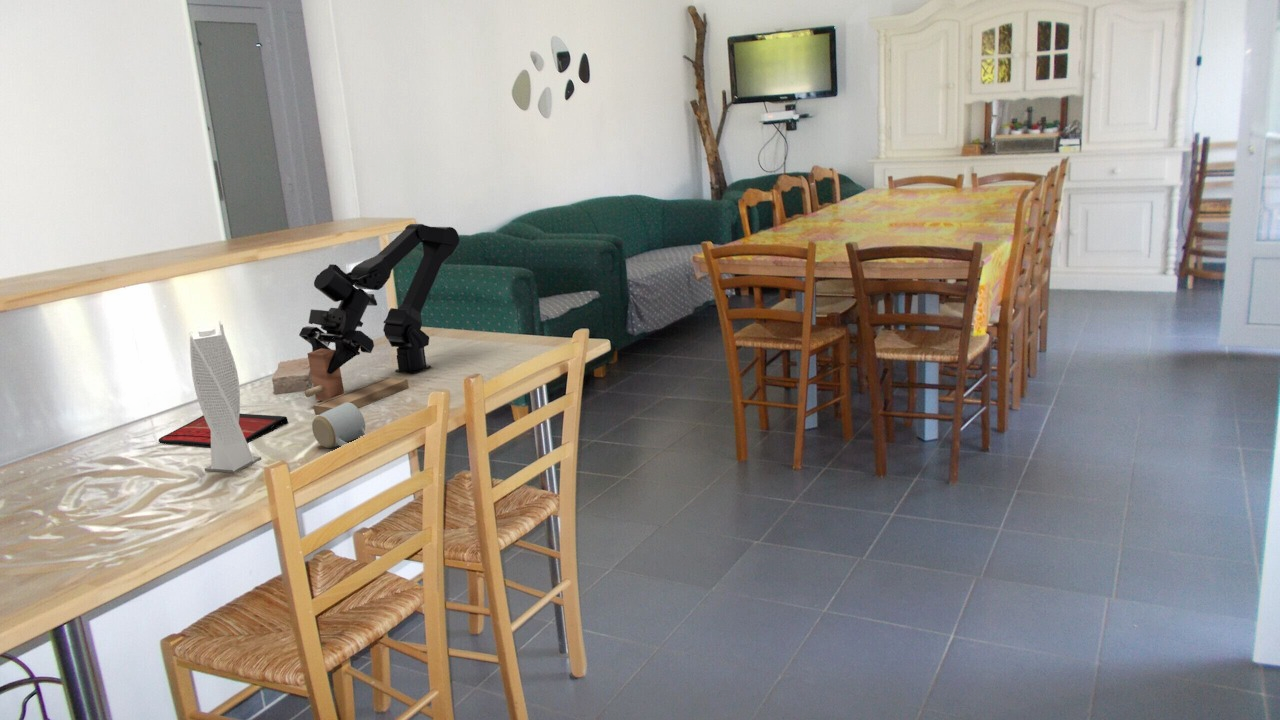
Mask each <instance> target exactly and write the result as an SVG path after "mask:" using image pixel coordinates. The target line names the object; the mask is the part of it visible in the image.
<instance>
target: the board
mask: <svg viewBox="0 0 1280 720" xmlns="http://www.w3.org/2000/svg"><path fill="white" fill-rule="evenodd" d="M408 388H409V382H408V379H406V378H398V377H390V376H389V377H388V376H387V377H384V378H382V379H378V380H376V381H373V382H370V383H368V384H366V385H363V386H360V387H357V388H355V389H352V390H349V391H346V392H344V394H341V395H339V396H336V397H333V398H331V399H328V400H326V401H319V402H317V403H315V404H313V411H314V415H320V414H322V413H324V412H326V411H328V410H330V409H333V408H335V407H337V406H339V405H341V404H343V403H346V402H349V403H352V404H354V405H355V406H356V407H357V408H358V409H359V408H361V407H362V408H363V407H365V406H366V405H369V404H371V403H374V402H376V401H378V400H381V399H383V398H386V397H389V396H392V395H393V394H396V393H399V392H401V391H403V390H406V389H408Z"/></svg>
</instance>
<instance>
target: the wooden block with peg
mask: <svg viewBox="0 0 1280 720" xmlns="http://www.w3.org/2000/svg"><path fill="white" fill-rule="evenodd" d="M334 352H335V349H331V348H330V349H319V350H316V351H313V352H312V351H310V352H308V353H307V358H308V359H309V365H310V370H311V376H312V386H313V387H310V389H308V390H306V391H304V396H305V397H306V398H310V397H312V396H315V400H316V401H320V402H323V401H326V400H328V399H331V398H333V397H336V396H339V395H341V394H344V393H345V391H344V383H343V378H342V373H341V367H340V368H338V369H337V370H336V371H334V372H333V373H332V374H329V373H328V372H327V370H328V367H329V364H330V362H331V359H332V357H333V354H334Z"/></svg>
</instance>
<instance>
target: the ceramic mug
mask: <svg viewBox="0 0 1280 720" xmlns="http://www.w3.org/2000/svg"><path fill="white" fill-rule="evenodd" d="M311 426H312V427H311V429H312V433H313V436H314V439H315V440H316V441H317V442H318V444H320V446H322V447H324V448H326V449H329V448H330V449H331V448H336V447H341V446H342V445H344V444H346V443H349V442H352V441H354V439H355V440H357V439H359V438H358V437H360V436H362V437H363V435H365V434H367V433H366V422H365V418H364V416H363V414H362V411H360V409H359V408H357V407H356V406H355V405H354V404H352V403H349V402H346V403H343V404H341V405H339V406H337V407H335V408H333V409H330V410H328V411H326V412H324V413H322V414H320V415H319V414H317V416H316V417H315V418H313V420H312V425H311ZM356 438H357V439H356ZM360 438H361V437H360Z"/></svg>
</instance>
